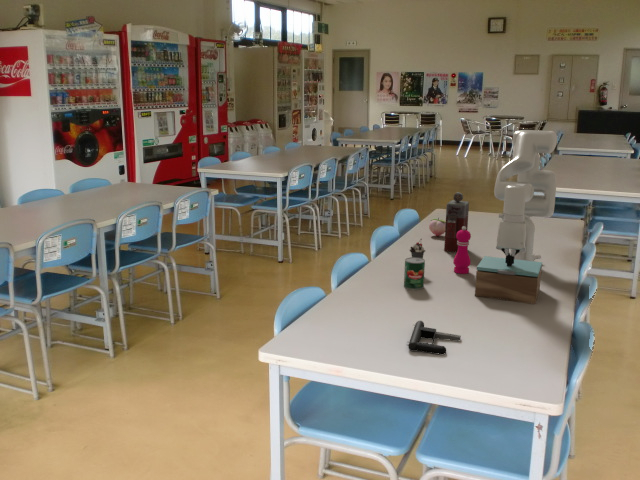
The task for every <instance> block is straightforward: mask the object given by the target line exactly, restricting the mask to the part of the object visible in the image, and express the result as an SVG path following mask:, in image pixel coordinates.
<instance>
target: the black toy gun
mask: <svg viewBox="0 0 640 480" xmlns="http://www.w3.org/2000/svg"><path fill="white" fill-rule="evenodd" d="M461 336H462V335H459V334H453V333H447V332H441V331H437V328H433V327H427V326H425V323H424V321H423V320H418V321H416V323H415V324H414V327H413V329H412V334H411V336H410V340H409V341H408V344H407V346H408V350H410V351H411V350H417V352H422V351H424V352H423V353H428V352H432V353H431V354H434V353H439V354H438V355H440V354H444V353H445V354H446V353H447V348H446V347H445V346H444V345H438V344H433V343H435V340H436V339H437V338H439V339H438V340H444V339H450V340H449V341H453V340H460V341H461ZM421 337H422V338H421ZM428 338H432V339H431V340H432V342H431V343H429V342H421V339H428ZM434 339H435V340H434ZM445 354H444V355H445Z"/></svg>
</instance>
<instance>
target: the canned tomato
mask: <svg viewBox="0 0 640 480" xmlns="http://www.w3.org/2000/svg"><path fill="white" fill-rule="evenodd" d="M425 262H426V260H425V258H423V259H422V258H417V257H412V256H410V257H406V258H405V259H404V277H403V287H404V288H405V289H407V290H412V291H413V290H416V291H417V290H418V291H419V290H421V289H424V286H425V267H426V263H425Z"/></svg>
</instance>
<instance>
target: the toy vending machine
mask: <svg viewBox="0 0 640 480" xmlns="http://www.w3.org/2000/svg"><path fill="white" fill-rule="evenodd" d="M463 199H464V195H463V193H461V192H458V191H457V192H455V193H454V195H453V199H452V200H450V201H449V202H447V203H446V207H445V208H446V209H445V222H446V226H445V233H444V248H443V251H444V252H449V253H457V251H458V244H457V241H458V239H457V238H456V235H457V232H458V231H460V230H462V227H463V226H465V227H466V230H467V231H468V225H469V211H470V210H469V207H470V202H469V201H464V200H463Z"/></svg>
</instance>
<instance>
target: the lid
mask: <svg viewBox="0 0 640 480" xmlns="http://www.w3.org/2000/svg"><path fill="white" fill-rule="evenodd" d="M505 261H506V257H497V256H487V255H484V256H483V258H482V259H481V260H480V262H479V263H478V265H477V266H476V271H477V270H482V271H490V272H498V273H500V274H509V275H515V274H516V275H525V276H533V277H538V275H539V272H540V269H541V267H542V268H543V262H542V261H536V260H534V261H526V260H516V259H514V264H512V266H507V263H505Z"/></svg>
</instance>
